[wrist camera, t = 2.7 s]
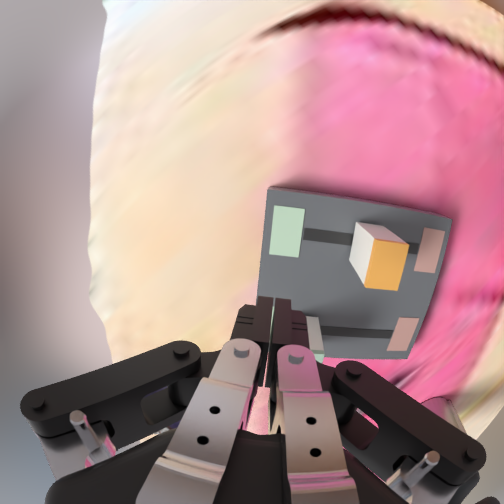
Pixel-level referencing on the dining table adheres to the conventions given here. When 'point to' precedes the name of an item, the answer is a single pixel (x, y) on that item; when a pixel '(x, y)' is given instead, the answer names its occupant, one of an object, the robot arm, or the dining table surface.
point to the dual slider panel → (349, 269)
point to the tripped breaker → (378, 256)
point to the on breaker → (315, 338)
